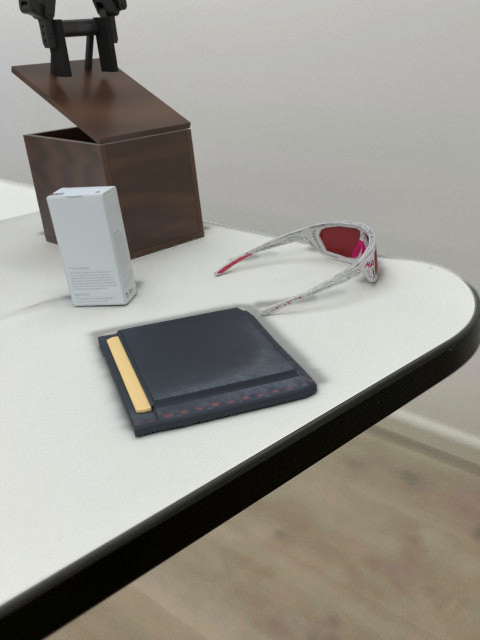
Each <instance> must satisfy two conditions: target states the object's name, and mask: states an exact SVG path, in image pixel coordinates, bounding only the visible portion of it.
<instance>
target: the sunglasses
mask: <svg viewBox="0 0 480 640" xmlns="http://www.w3.org/2000/svg"><path fill="white" fill-rule="evenodd" d="M376 240H377V238H376V233H375V232H374V231H373V228H371V227H370V226H368V225H366V224H364V223H362V222H359V221H356V220H330V221H325V222H324V221H322V222H317V223H313V224H310V225H306V226H303V227H300V228H297V229H295V230H292V231H289V232H286V233H283V234H281V235H279V236H276V237H275V238H272V239H270V240H267V241H265V242H263V243H262V244H260V245H258V246H256V247H253V248H252V249H249V250H247V251H246V252H243V253H241V254H239V255H237V256H236V257H234V258H231V260H229V261H228V262H226V263H225V264H223V265H222V266H220V267H219V268H218V269H216V270H215V271H214V272H213V275H215V276H220V275H223V274H224V273H226V272H227V271H228V270H230V269H231V268H233V267H234V266H236V265H237V264H238V263H239V264H240V263H241V262H242V261H244V260H245V259H247V258H249V257H252V256H254V255H257V254H258V253H261V252H264V251H267V250H270V249H274V248H279V247H281V246H285V245H288V244H294V243H298V242H303V241H307V242H308V244H309V245H310V247H311V248H313V249H315V250H317V251H318V252H319V254H320V255H323V256H325V257H328V258H331V259H333V260H336V261H341V262H342V263H343V262H344V263H347V264H349V266H348V267H346V268H344V269H342V270H341V271H340V272H338V273H337V274H335V275H333V276H331V277H329V278H328V279H326V280H324V281H322V282H320V283H318V284H317V285H314V286H313V287H311V288H309V289H307V290H305V291H303V292H301V293H297V294H295V295H294V296H292V297H289V298H287V299H284V300H282V301H278V302H276V303H274V304H271V305H269V306H266V307H264V308H262V309H260V310H259V314H260V315H266V316H267V315H270V314H273V313H275V312H278V311H281V310H282V309H285V308H286V307H289V306H291V305H293V304H295V303H298V302H300V301H302V300H304V299H307V298H310V297H313V296H314V295H317V294H319V293H322V292H325V291H327V290H330V289H332V288H334V287H337V286H339V285H342V284H344V283H347V282H349V281H350V280H353V279H354V278H356V277H358V276H360V275H362V274H364V275H365V278H366V280H368V282H369V283H375V282H376V281H377V279H378V273H377V272H378V252H377V241H376ZM350 264H351V265H350Z"/></svg>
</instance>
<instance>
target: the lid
mask: <svg viewBox="0 0 480 640" xmlns="http://www.w3.org/2000/svg"><path fill="white" fill-rule="evenodd" d="M62 23H63V29H64V34H65V38H78V37H79V38H80V37H85V38H86V39H85V40H86V41H85V53H84V59H73V60H69V61H70V67H71V72H72V77H55V74H54V69H53V63H52V58H51V57H50V62H42V63H31V64H19V65H11V68H10V69H11V71H10V72H11V74H13V75H14V76H15V77H17V78H18V79H19V80H20V81H21V82H23V83H24V84H25V85H26V86H27V87H29V88H30V89H31V90H32V91H34V92H35V93H36V94H37V95H38V96H39V97H41V98H42V99H43V100H44V101H46V102H47V103H48V104H49V105H51V106H52V107H53V108H54V109H55V110H57V111H58V113H60V114H61V115H63V116H64V117H65V118H66V119H67V120H68V121H70V122H71V123H72V124H73V125H75V127H76V126H77V127H78V128H80V129H81V130H82V131H83V132H84V133H86V134H87V135H88V136H89V137H90V138H92V139H93V140H94V141H95V142H97V143H98V144H99V145H100V144H105V143H111V142H116V141H122V140H127V139H133V138H138V137H144V136H149V135H155V134H160V133H166V132H171V131H177V130H182V129H191V125H192V122H191V121H190V120H188V119H187V118H186V117H184V116H183V115H181V114H180V113H179V112H178V111H176V110H175V109H174V108H172V107H171V106H170V105H168V104H167V103H166V102H165V101H163V100H162V99H161V98H159V97H157V96H156V95H155V94H154V93H153V92H152V91H150V90H148V89H147V88H146V87H144V85H142V84H141V83H139V82H138V81H136V80H135V79H134V78H132V77H131V76H130V75H129V74H127V72H124V70H122V69H121V68H119V67H118V71H119V72H102V71H101V65H100V59H99V57H96V58H94V43H95V37H96V35H97V34H98V32H99V27H98V24H97V22H96V20H95V19H93V18H74V19H62Z"/></svg>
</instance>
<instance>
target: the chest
mask: <svg viewBox="0 0 480 640" xmlns="http://www.w3.org/2000/svg"><path fill="white" fill-rule="evenodd" d="M22 137H23V142H24V146H25V147H24V148H25V151H26V155H27V160H28V165H29V170H30V174H31V178H32V183H33V186H34V188H33V189H34V192H35V197H36V201H37V205H38V210H39V215H40V219H41V224H42V229H43V233H44V237H45V241H46V242H49V243H52V244H56V245H58V242H57V238H56V234H55V230H54V226H53V222H52V218H51V214H50V210H49V207H48V203H47V197H48V196H49V195H51V194H53V193H54V192H56V191H57V190H59V189H61V188H75V187H103V186H115V187H116V190H117V195H118V200H119V205H120V209H121V214H122V219H123V224H124V229H125V234H126V239H127V244H128V249H129V254H130V259H131V260H133V259H136V258H140V257H143V256H146V255H150V254H152V253H155V252H159V251H161V250H165V249H168V248H172V247H174V246H178V245H180V244H181V245H182V244H184V243H188V242H190V241H191V242H192V241H194V240H197V239H201V238H203V237H205V230H204V223H203V214H202V213H203V212H202V206H201V205H202V204H201V197H200V189H199V183H198V175H197V166H196V159H195V151H194V143H193V136H192V130H191V128H188V129H182V130H177V131H171V132H166V133H160V134H155V135H149V136H144V137H138V138H133V139H127V140H122V141H116V142H111V143H105V144H100V145H99V144H98V143H97V142H95V141H94V140H93V139H92V138H90V137H89V136H88V135H87V134H86V133H84V132H83V131H82V130H81V129H80V128H78V127H77V126H76V125H75V126H70V127H64V128H58V129H51V130H44V131H38V132H33V133H27V134H23V135H22Z"/></svg>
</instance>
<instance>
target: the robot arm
mask: <svg viewBox="0 0 480 640" xmlns="http://www.w3.org/2000/svg"><path fill="white" fill-rule="evenodd" d="M91 1H92V4H93V6H94V8H95V11H96V13H97V15H98V17H97V16H96V17H95V16H94V17H92V19H95V20H96V22H97V24H98V27H99V32H98V34H97V35H95V40H96V47H97V53H98V58H99V59H100V65H101V71H102V72H119V71H118V68H119V64H118V60H117V52H116V46H115V44H118V42H119V35H118V29H117V24H116V17H118V16H119V15H120V12H122V11H125V10H127V8H128V3H127V0H91ZM56 4H57V0H18V8H19V10H20V13H22V14H23V15H29V16H31V17H32V18H33V19H34V20H37V22H38V26H39V31H40V37H41V41H42V45H43V48H45V49H49V53H50V59H51V58H52V63H53V69H54V74H55V77H72V72H71V67H70V61H71V60H70V56H69V51H68V46H67V40H66V37H65V34H64V29H63V23H62V20H63V19H62V18H61V19H60V18H58V19H56V18H55V15H56V6H57V5H56ZM54 18H55V19H54Z"/></svg>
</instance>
